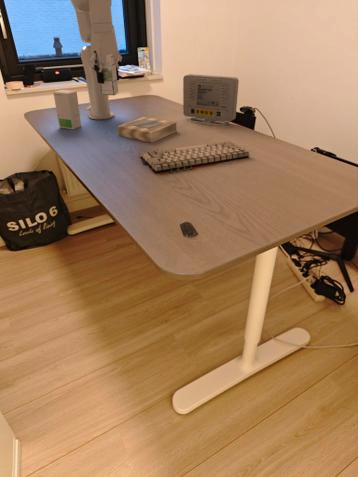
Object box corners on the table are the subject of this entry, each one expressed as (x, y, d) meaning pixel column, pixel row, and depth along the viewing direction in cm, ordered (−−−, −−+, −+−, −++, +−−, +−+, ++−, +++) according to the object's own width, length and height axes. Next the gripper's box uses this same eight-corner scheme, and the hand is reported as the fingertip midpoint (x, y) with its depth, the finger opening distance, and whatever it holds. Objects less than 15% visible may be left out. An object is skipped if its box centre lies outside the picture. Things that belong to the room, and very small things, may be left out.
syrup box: (118, 92, 137) (114, 52, 129) (114, 95, 132) (110, 53, 124) (105, 92, 137) (100, 52, 129) (100, 95, 133) (95, 53, 124)
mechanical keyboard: (226, 144, 136) (226, 136, 134) (253, 160, 121) (254, 151, 119) (137, 159, 123) (136, 150, 121) (155, 179, 109) (155, 169, 107)
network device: (236, 122, 160) (240, 76, 149) (230, 127, 154) (233, 79, 142) (188, 116, 170) (189, 73, 159) (180, 121, 164) (180, 75, 152)
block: (191, 227, 85) (191, 221, 84) (198, 239, 80) (199, 232, 79) (177, 228, 84) (178, 221, 83) (184, 239, 79) (185, 233, 78)
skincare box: (59, 127, 156) (51, 91, 147) (68, 124, 161) (61, 89, 152) (74, 129, 153) (67, 93, 144) (82, 125, 158) (76, 90, 149)
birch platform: (118, 135, 145) (117, 125, 143) (144, 125, 158) (144, 116, 155) (151, 142, 137) (151, 132, 134) (176, 131, 149) (176, 121, 147)
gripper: (112, 27, 130) (117, 77, 140) (76, 29, 118) (85, 84, 128) (126, 28, 126) (130, 79, 136) (91, 30, 114) (98, 86, 124)
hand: (108, 81), depth 132 cm, fingers closed on syrup box, 7 cm apart
